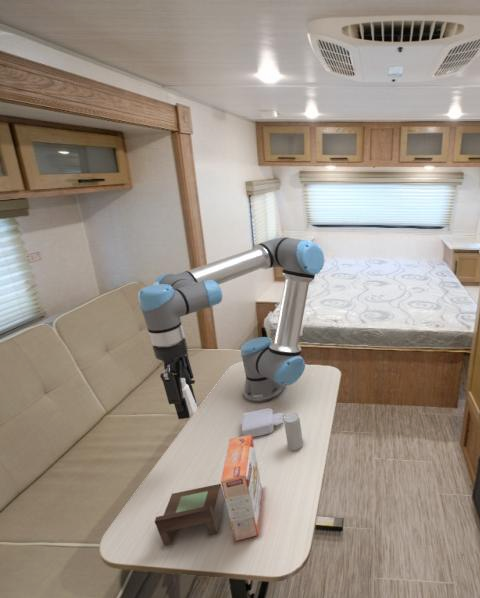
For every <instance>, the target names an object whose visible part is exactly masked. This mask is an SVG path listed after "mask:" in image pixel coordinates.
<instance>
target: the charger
mask: <svg viewBox="0 0 480 598" xmlns="http://www.w3.org/2000/svg"><path fill="white" fill-rule="evenodd" d="M287 414H288V413H286V414H283V412H276V413H274V411H273V409H272V408H270V407H268V408H263V409H258V410H253V411H248V412H244V413H242V423H241V433H242V436H247V435H252V436H253V438H255V437H260V436H263V435H264V436H265V435H268V434H272V432H273V431H275V430H274V429H275V427H274V426H278V425H281V424H284V418H285V416H286V415H287Z"/></svg>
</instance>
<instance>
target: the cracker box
mask: <svg viewBox="0 0 480 598" xmlns="http://www.w3.org/2000/svg"><path fill="white" fill-rule="evenodd" d="M220 484H221V486H222V490H223V494H224V498H225V501H224V502H225V504H226V509H227V512H228V518H229V521H230V526H231V529H232V533H233V537H234V541H235V542H238V541H241V540H246V539H249V538H253V537H257V536H259V532H260V531H259V529H260V518H261V510H262V509H261V506H262V497H263V486H262V480H261V476H260V470H259V464H258V460H257V454H256V448H255V442H254V437H253V436H252V435H247V436H243V435H242V436H237V437H232V438H230V439H229V442H228V446H227V451H226V455H225V460H224V465H223V470H222V474H221V478H220Z"/></svg>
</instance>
